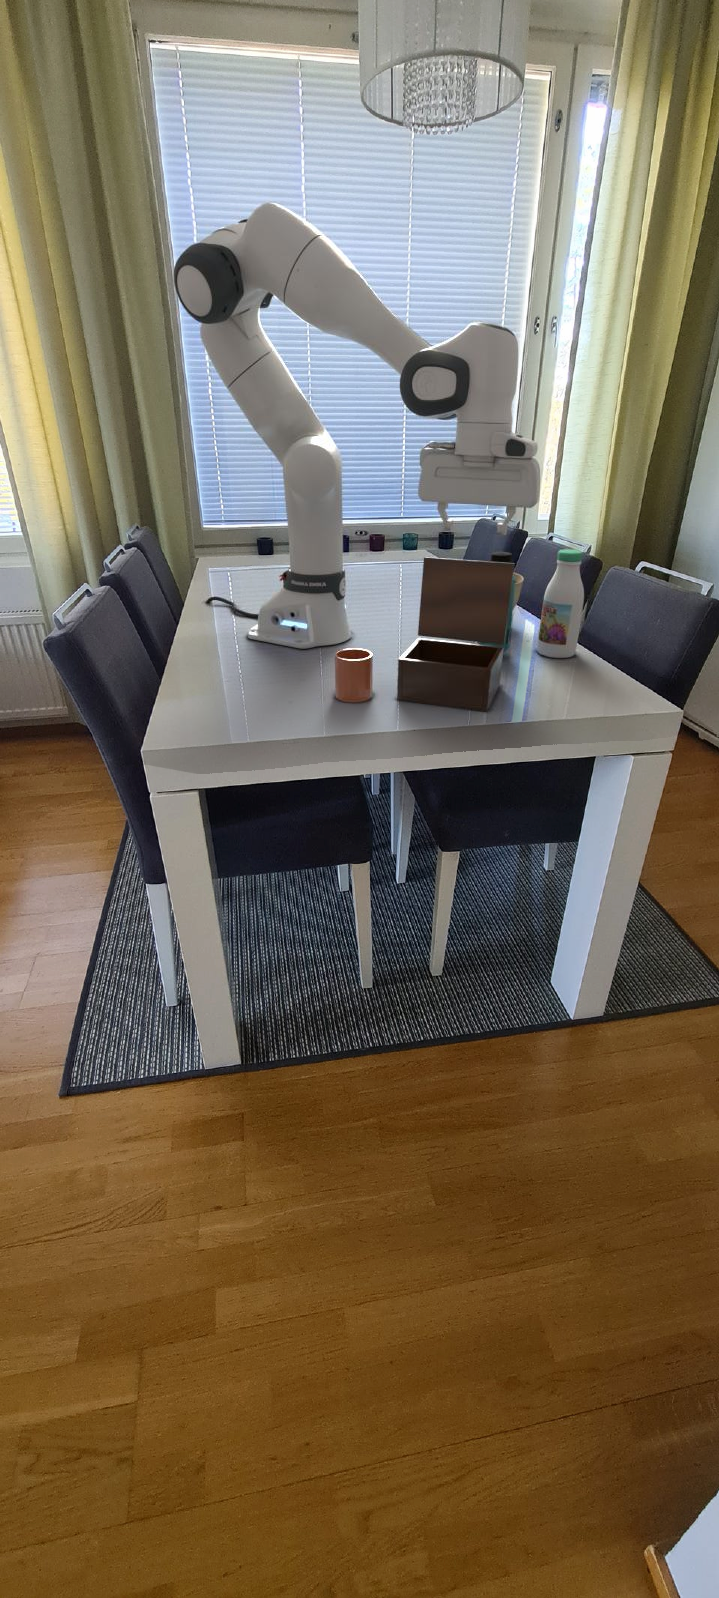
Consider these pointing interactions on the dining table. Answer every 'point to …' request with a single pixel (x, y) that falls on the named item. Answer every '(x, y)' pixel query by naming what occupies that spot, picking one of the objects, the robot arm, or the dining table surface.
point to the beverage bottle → (507, 558)
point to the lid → (465, 599)
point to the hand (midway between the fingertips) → (474, 532)
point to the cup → (353, 675)
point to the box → (450, 674)
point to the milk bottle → (562, 608)
